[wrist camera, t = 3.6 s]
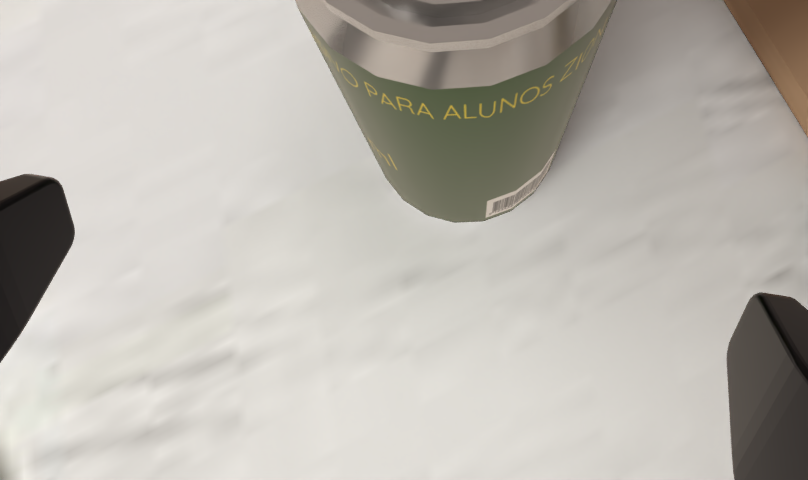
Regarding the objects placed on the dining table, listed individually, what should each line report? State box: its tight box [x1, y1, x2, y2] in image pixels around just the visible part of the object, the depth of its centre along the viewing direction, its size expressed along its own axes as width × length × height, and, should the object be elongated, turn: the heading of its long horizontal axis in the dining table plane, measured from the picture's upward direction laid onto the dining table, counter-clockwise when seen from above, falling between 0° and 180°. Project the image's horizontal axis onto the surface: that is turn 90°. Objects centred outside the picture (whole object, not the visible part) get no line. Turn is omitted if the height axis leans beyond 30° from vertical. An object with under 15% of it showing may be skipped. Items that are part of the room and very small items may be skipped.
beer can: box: [295, 0, 617, 223], centre depth 15 cm, size 5×5×12 cm
